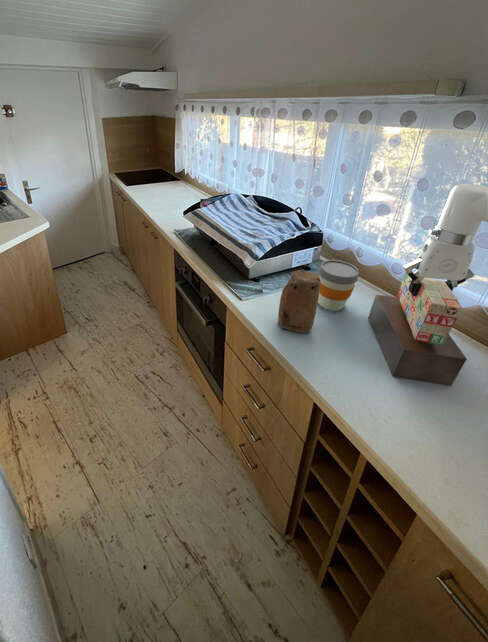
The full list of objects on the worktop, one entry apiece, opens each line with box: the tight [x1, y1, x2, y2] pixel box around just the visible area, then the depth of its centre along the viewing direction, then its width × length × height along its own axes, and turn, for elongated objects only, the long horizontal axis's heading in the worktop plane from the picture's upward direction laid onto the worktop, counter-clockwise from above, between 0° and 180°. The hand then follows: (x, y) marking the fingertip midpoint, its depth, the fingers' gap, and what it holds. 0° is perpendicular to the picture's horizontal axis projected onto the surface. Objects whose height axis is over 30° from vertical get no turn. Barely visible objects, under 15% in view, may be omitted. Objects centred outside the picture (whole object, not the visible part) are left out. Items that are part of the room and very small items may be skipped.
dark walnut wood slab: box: [367, 294, 468, 387], centre depth 90 cm, size 14×25×10 cm, turn 167°
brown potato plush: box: [277, 269, 320, 334], centre depth 97 cm, size 11×8×20 cm
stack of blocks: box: [397, 270, 464, 345], centre depth 84 cm, size 21×6×12 cm, turn 160°
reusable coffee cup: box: [318, 259, 359, 312], centre depth 109 cm, size 13×13×15 cm
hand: (427, 294), depth 83 cm, fingers closed on stack of blocks, 6 cm apart
